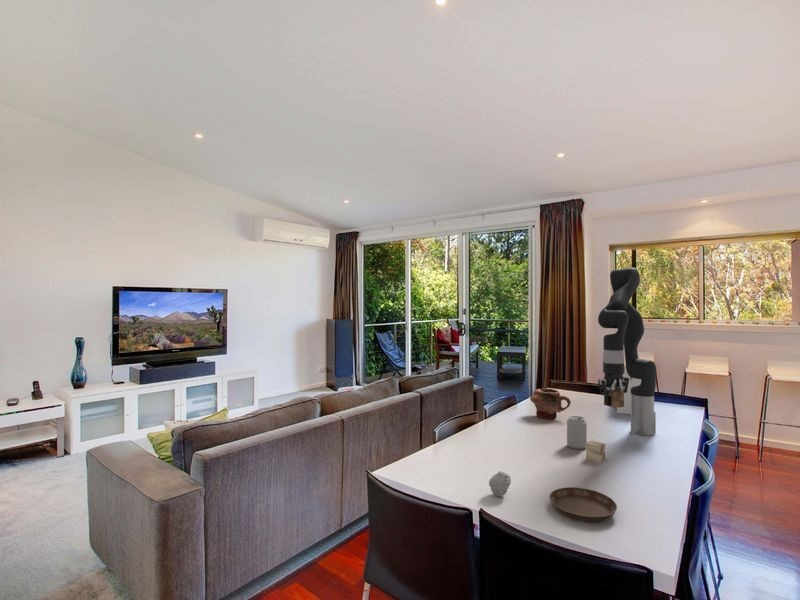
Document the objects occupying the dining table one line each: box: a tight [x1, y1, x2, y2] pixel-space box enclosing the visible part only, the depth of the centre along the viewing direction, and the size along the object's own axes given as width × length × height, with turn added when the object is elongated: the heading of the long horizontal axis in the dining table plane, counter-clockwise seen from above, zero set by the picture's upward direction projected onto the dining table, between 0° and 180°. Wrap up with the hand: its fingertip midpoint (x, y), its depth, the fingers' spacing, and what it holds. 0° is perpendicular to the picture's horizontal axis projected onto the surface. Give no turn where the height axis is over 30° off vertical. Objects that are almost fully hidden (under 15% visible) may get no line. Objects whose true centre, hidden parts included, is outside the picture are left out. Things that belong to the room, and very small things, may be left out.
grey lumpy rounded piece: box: [488, 470, 512, 497], centre depth 130 cm, size 6×7×7 cm
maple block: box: [585, 439, 607, 463], centre depth 160 cm, size 5×5×6 cm
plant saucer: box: [549, 486, 618, 524], centre depth 121 cm, size 18×18×3 cm
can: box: [566, 415, 588, 450], centre depth 173 cm, size 8×8×12 cm
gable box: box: [616, 364, 641, 415], centre depth 231 cm, size 22×13×28 cm, turn 151°
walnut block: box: [603, 388, 624, 409], centre depth 166 cm, size 5×5×6 cm
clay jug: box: [529, 388, 571, 421], centre depth 216 cm, size 20×12×14 cm, turn 60°
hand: (613, 404), depth 166 cm, fingers closed on walnut block, 5 cm apart
